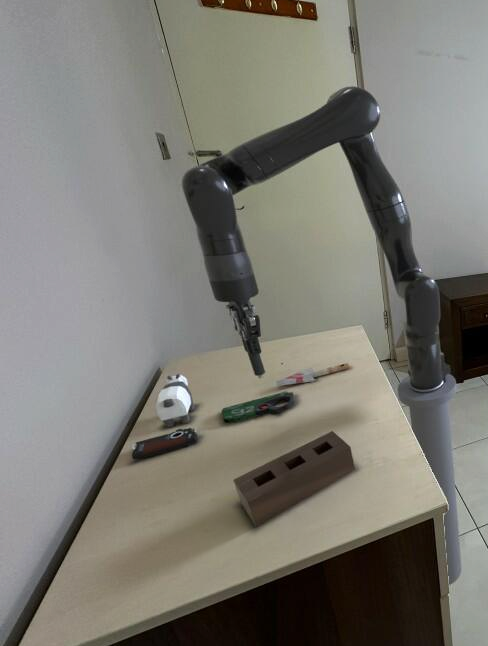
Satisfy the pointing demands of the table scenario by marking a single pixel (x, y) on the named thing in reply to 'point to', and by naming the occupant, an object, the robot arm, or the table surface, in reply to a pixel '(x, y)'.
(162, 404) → the giant panda
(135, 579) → the table surface
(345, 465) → the pen stand
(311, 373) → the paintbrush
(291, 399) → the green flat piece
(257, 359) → the stylus
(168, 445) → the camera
